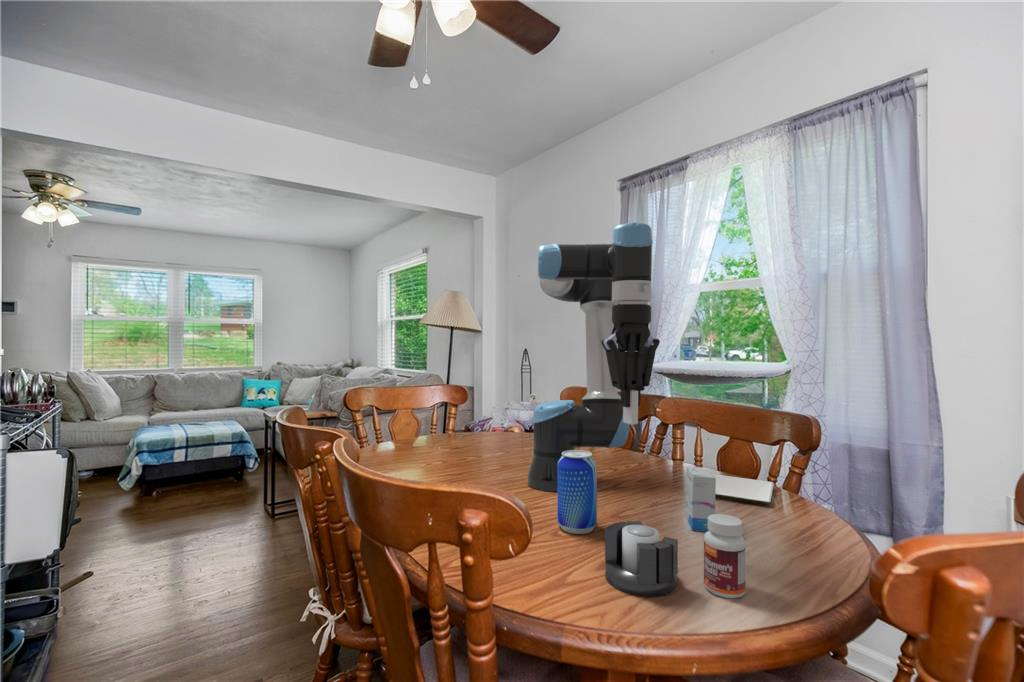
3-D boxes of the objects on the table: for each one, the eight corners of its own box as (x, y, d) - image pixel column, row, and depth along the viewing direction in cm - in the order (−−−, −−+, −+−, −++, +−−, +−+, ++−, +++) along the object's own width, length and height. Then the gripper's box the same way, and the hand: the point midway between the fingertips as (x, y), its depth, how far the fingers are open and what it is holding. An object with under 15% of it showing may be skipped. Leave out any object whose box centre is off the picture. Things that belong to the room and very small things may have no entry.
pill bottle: (698, 590, 76) (698, 520, 76) (710, 576, 81) (710, 509, 81) (739, 604, 72) (739, 529, 72) (750, 588, 77) (750, 518, 77)
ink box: (716, 533, 99) (716, 476, 99) (691, 531, 100) (691, 475, 100) (708, 518, 108) (708, 466, 108) (685, 516, 109) (685, 465, 109)
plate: (773, 489, 130) (773, 481, 130) (770, 509, 114) (770, 501, 114) (701, 479, 140) (701, 472, 140) (689, 496, 124) (689, 488, 124)
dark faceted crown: (591, 570, 82) (591, 527, 82) (643, 557, 87) (643, 517, 88) (636, 603, 72) (636, 554, 72) (692, 586, 77) (692, 540, 77)
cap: (614, 563, 81) (615, 526, 81) (642, 556, 84) (642, 520, 84) (638, 578, 76) (638, 539, 76) (667, 571, 78) (667, 533, 78)
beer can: (601, 524, 104) (601, 451, 104) (590, 538, 96) (590, 459, 96) (564, 518, 107) (564, 447, 108) (551, 531, 100) (551, 455, 100)
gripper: (616, 302, 87) (615, 429, 87) (670, 303, 92) (669, 423, 93) (592, 304, 94) (592, 422, 94) (644, 305, 99) (643, 417, 100)
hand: (630, 422), depth 94 cm, fingers closed
